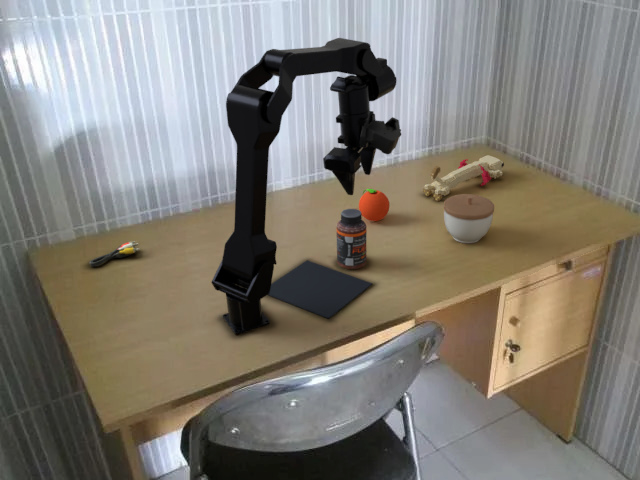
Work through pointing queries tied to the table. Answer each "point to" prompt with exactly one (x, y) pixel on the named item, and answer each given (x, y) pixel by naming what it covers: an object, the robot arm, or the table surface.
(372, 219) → the clementine
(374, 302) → the table surface
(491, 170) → the beige blocky animal figure
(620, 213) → the table surface
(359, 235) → the supplement bottle
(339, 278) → the mat
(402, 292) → the table surface
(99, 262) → the composite cable
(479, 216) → the trinket box
